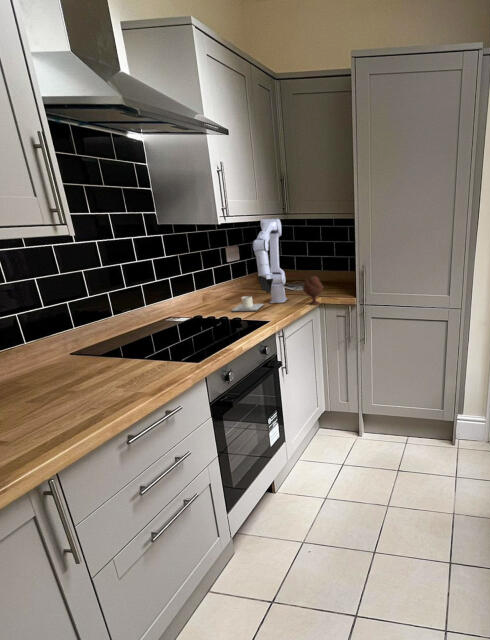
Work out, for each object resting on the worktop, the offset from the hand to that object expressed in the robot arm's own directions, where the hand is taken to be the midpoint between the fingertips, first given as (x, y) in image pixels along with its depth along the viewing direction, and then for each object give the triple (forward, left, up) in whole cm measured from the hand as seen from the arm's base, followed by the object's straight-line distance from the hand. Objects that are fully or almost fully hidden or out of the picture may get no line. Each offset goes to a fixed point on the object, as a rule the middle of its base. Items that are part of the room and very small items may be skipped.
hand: (266, 291), depth 224 cm
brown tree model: (-12, +22, -10) cm, 27 cm away
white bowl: (-3, -12, -8) cm, 15 cm away
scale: (-3, -12, -9) cm, 16 cm away
